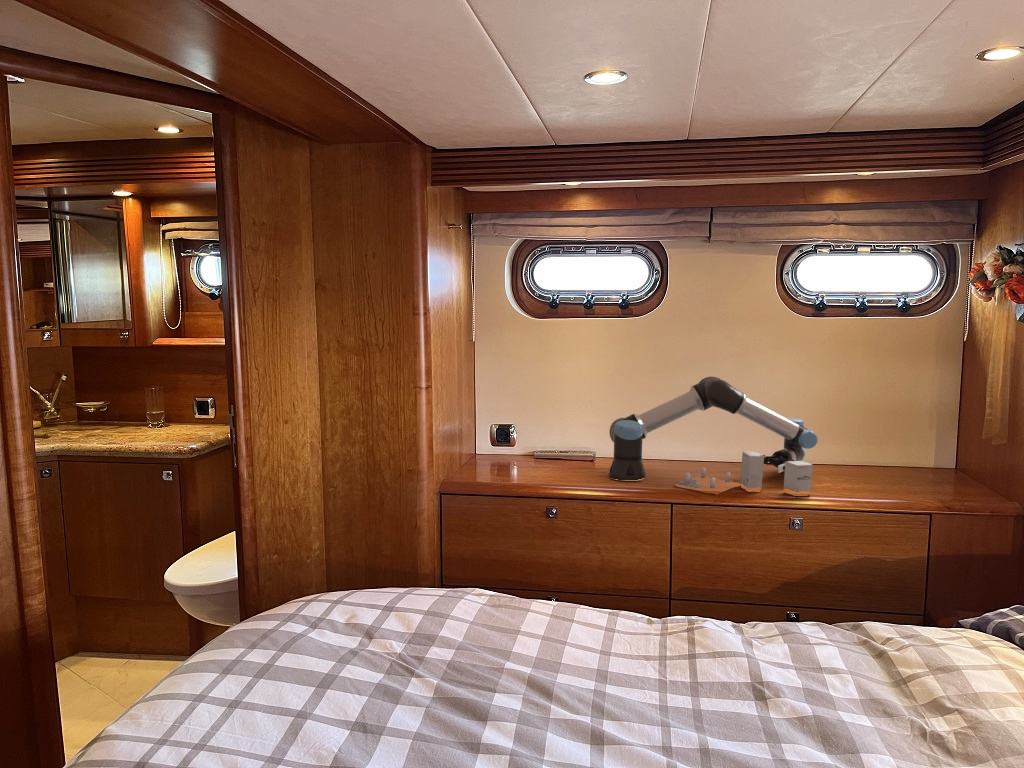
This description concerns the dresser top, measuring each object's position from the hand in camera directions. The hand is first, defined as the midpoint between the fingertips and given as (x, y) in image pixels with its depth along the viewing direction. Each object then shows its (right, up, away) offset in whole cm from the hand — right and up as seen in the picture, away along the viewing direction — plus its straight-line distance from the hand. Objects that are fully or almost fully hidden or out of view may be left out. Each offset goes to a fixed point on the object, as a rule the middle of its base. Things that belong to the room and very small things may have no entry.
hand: (762, 466), depth 300 cm
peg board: (-22, -8, -1) cm, 24 cm away
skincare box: (-6, -9, -6) cm, 12 cm away
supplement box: (+9, -10, -12) cm, 18 cm away
